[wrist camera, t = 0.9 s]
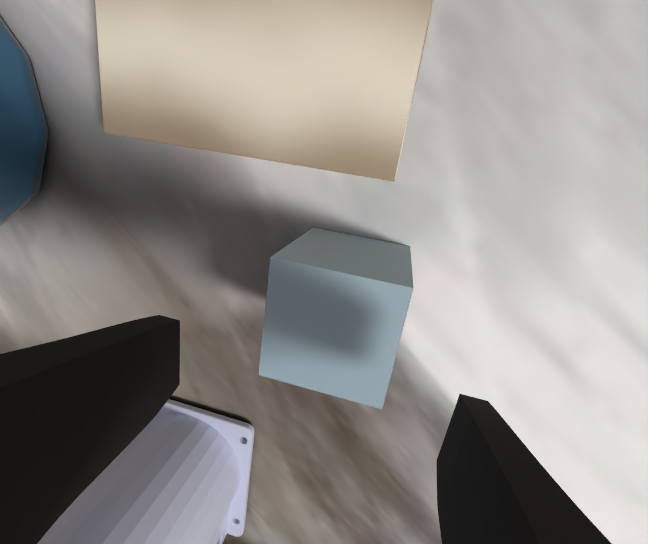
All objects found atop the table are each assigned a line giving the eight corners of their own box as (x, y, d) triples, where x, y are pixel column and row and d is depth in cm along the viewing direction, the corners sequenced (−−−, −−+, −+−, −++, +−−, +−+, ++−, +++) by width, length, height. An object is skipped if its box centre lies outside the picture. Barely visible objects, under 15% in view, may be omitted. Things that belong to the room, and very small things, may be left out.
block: (388, 333, 17) (381, 409, 11) (301, 312, 17) (258, 374, 12) (410, 246, 15) (413, 288, 10) (313, 227, 16) (270, 257, 11)
